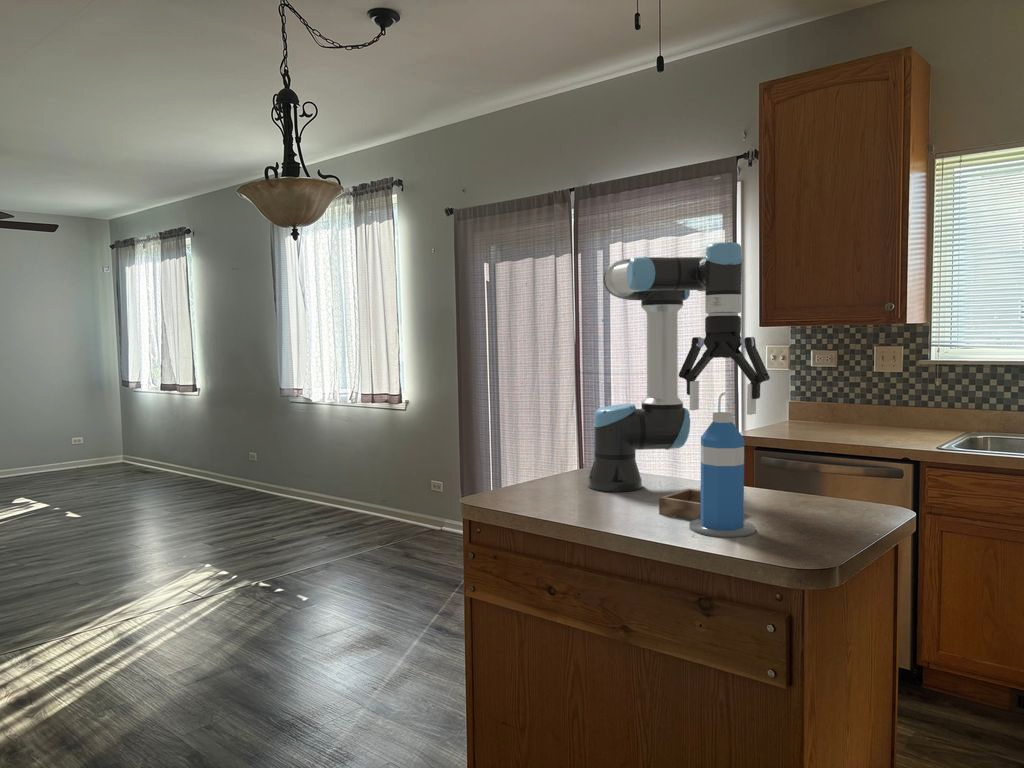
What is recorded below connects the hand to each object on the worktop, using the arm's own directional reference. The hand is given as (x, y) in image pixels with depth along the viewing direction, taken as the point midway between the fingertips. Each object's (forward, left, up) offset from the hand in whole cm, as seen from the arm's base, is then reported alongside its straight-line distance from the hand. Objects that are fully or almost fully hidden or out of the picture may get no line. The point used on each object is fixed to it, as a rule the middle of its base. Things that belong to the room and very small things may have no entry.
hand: (722, 412), depth 161 cm
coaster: (0, 0, -26) cm, 26 cm away
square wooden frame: (-11, +10, -26) cm, 30 cm away
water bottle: (0, 0, -25) cm, 25 cm away
